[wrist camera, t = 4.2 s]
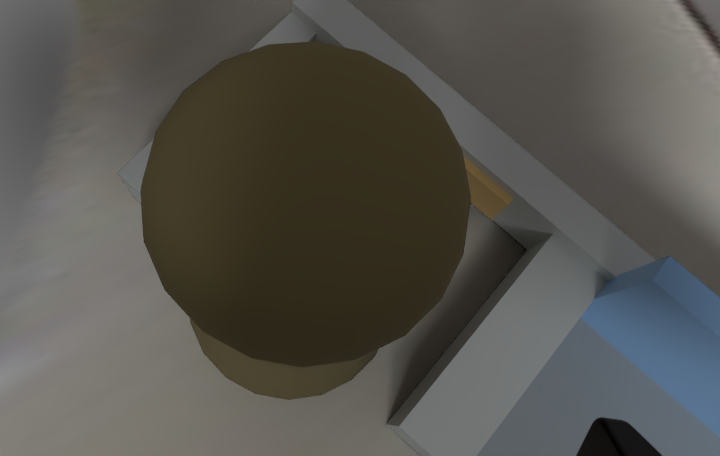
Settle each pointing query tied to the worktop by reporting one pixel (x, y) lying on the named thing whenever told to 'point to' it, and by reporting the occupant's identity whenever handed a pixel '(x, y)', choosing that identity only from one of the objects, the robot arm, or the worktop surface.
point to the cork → (303, 213)
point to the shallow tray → (542, 300)
